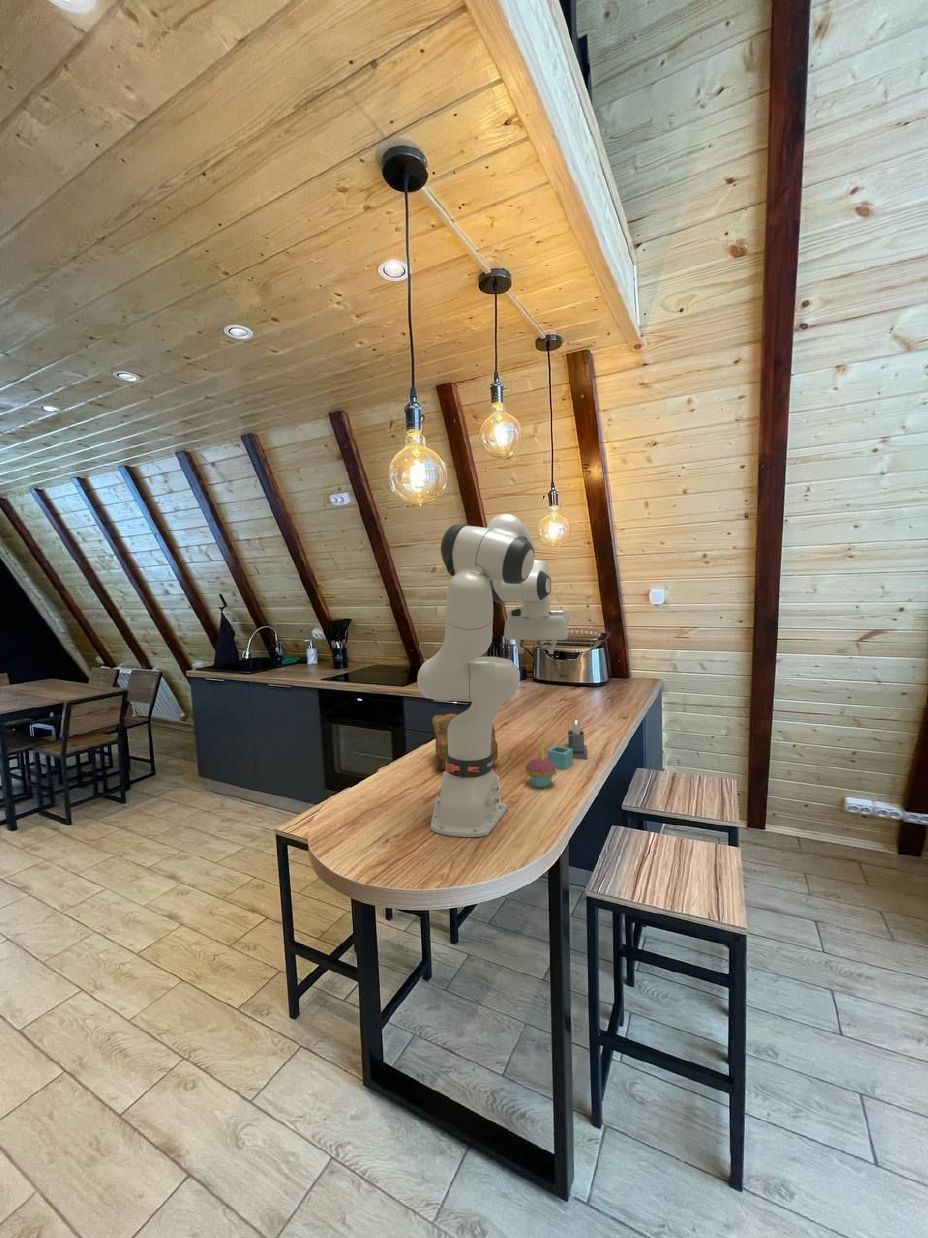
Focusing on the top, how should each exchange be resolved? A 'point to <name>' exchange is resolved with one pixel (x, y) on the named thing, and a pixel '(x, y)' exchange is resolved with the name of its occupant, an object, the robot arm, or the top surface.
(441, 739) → the rough brown rock
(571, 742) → the grey pedestal stand
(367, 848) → the top surface
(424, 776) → the top surface
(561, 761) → the teal hollow box
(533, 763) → the cupcake
